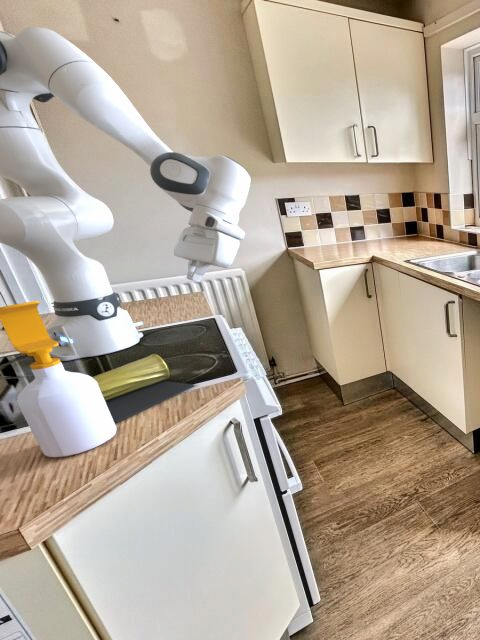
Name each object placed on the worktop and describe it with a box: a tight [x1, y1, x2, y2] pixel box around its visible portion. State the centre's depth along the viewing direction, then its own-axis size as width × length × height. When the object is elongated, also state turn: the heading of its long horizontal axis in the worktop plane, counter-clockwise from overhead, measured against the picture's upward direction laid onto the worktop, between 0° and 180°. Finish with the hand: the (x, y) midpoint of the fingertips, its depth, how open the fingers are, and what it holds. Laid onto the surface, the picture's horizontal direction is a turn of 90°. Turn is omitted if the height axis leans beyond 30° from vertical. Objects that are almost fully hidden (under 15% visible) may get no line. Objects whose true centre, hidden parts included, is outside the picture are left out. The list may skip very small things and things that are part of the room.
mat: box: [105, 380, 195, 424], centre depth 86 cm, size 20×15×1 cm
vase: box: [91, 353, 170, 401], centre depth 87 cm, size 6×6×14 cm
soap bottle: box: [0, 300, 117, 458], centre depth 67 cm, size 9×9×25 cm
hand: (193, 280), depth 98 cm, fingers closed
